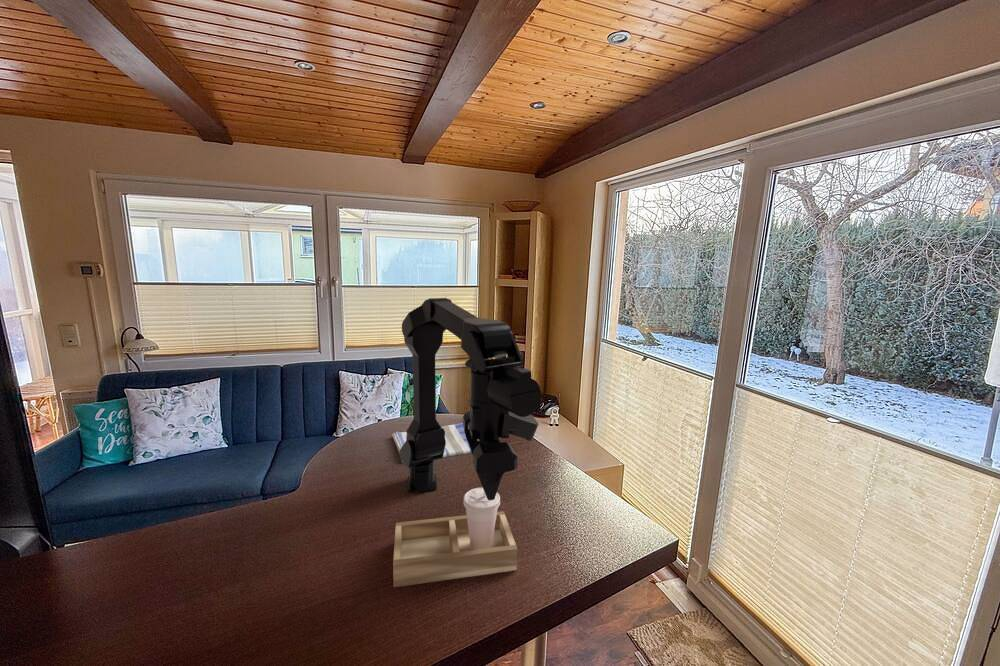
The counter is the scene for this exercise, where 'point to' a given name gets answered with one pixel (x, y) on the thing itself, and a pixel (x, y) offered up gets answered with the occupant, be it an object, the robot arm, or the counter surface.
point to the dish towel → (453, 438)
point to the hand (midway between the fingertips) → (486, 484)
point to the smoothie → (480, 517)
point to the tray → (448, 551)
